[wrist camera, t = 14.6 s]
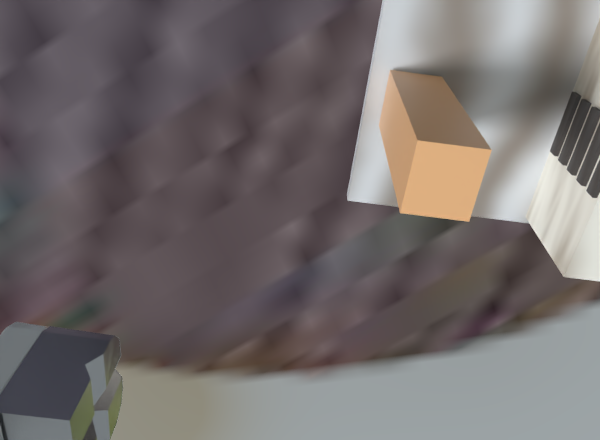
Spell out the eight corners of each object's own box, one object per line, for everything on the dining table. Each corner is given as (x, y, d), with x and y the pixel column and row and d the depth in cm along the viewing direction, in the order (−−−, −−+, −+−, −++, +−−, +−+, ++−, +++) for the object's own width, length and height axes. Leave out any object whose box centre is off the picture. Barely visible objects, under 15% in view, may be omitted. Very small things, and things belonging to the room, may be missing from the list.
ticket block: (347, 194, 44) (351, 257, 36) (389, -39, 35) (407, -23, 28) (622, 229, 44) (686, 298, 37) (729, 8, 36) (842, 36, 28)
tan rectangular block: (378, 125, 39) (400, 212, 28) (389, 69, 37) (417, 140, 26) (428, 131, 40) (469, 221, 28) (441, 76, 38) (491, 149, 26)
